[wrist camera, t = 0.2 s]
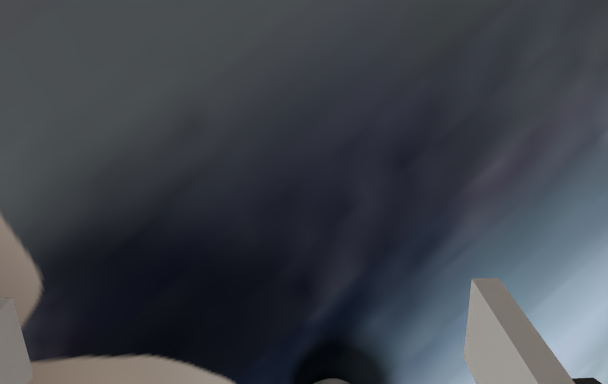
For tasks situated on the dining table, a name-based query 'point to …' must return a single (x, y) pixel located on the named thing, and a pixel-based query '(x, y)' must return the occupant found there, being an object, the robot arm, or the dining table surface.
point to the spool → (331, 381)
